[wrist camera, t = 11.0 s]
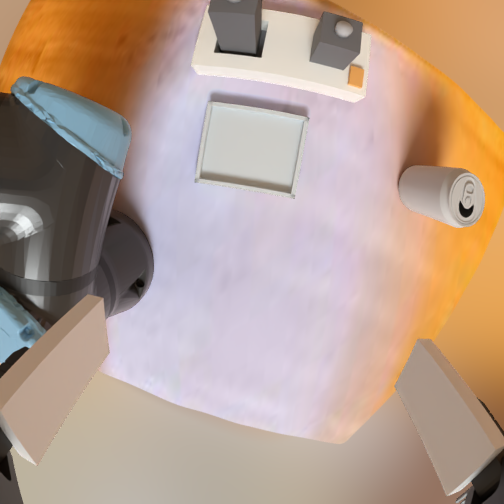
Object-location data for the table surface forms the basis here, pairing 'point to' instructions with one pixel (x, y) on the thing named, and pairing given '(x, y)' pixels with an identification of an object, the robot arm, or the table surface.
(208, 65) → the strip
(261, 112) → the tray
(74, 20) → the table surface
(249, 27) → the plug
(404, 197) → the beverage can
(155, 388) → the table surface
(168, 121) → the table surface
